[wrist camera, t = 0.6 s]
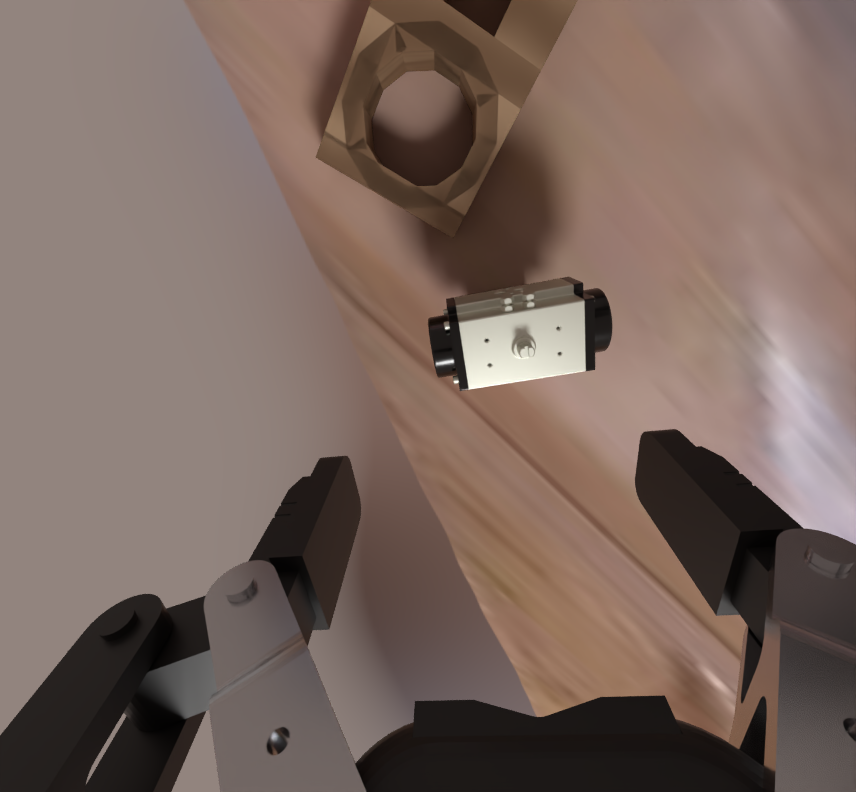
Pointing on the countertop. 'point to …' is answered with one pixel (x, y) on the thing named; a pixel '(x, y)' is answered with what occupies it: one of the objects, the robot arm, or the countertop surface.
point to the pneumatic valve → (520, 333)
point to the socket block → (457, 61)
